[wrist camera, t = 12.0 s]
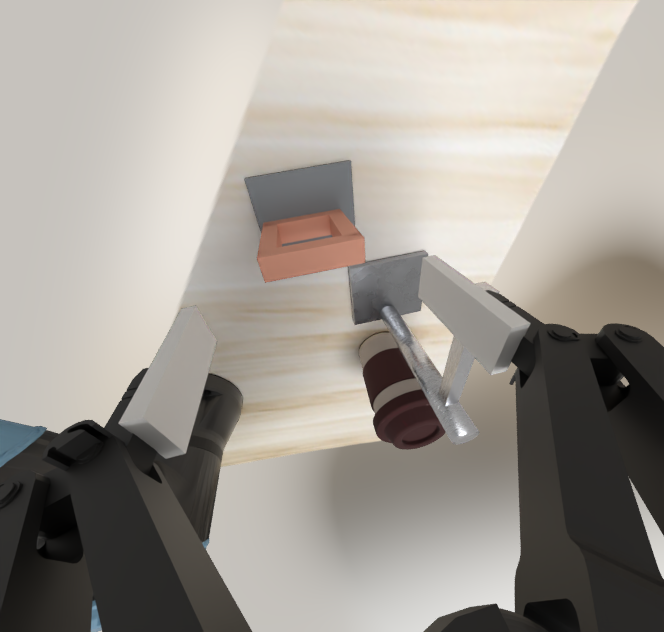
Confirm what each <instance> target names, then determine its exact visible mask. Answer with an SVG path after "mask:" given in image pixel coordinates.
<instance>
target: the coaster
mask: <svg viewBox="0 0 664 632" xmlns="http://www.w3.org/2000/svg"><path fill="white" fill-rule="evenodd" d="M245 182H246V186H247V189H248V192H249V195H250V198H251V202H252V205H253V208H254V211H255V215H256V218H257V221H258V224H259V227H260V231H261V233H262V228H263V223H265V222H270V221H276V220H281V219H287V218H292V217H298V216H303V215H309V214H314V213H320V212H325V211H331V210H336V209H340V210H341V211H342V212H343V213H344V214H345V216H346V217H347V218H348V219H349V220H350V222H351V223H352V224H353V225H354V226H355V217H354V202H353V186H352V170H351V161H349V160H348V161H342V162H336V163H330V164H325V165H319V166H313V167H307V168H301V169H295V170H289V171H283V172H277V173H272V174H266V175H260V176H254V177H248V178H245ZM331 237H332V235H327V236H322V237H317V238H312V239H306V240H301V241H296V242H290V243H285V244H282V247H283V246H288V245H294V244H299V243H304V242H309V241H315V240H320V239H325V238H331Z"/></svg>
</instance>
